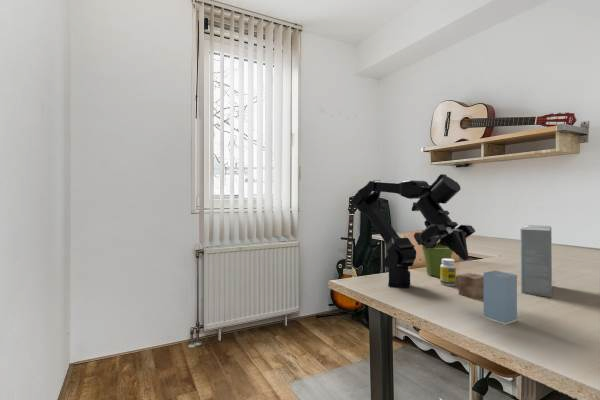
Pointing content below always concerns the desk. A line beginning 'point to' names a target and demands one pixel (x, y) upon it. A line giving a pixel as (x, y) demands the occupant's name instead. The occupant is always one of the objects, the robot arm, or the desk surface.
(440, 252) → the plant pot
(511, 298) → the slate block
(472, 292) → the walnut block
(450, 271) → the supplement bottle
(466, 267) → the desk surface
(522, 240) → the hard drive box
